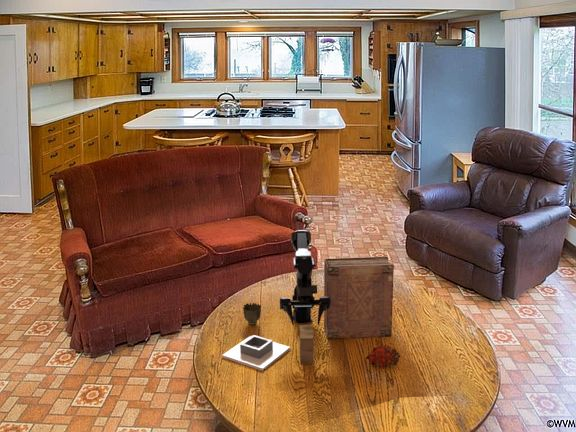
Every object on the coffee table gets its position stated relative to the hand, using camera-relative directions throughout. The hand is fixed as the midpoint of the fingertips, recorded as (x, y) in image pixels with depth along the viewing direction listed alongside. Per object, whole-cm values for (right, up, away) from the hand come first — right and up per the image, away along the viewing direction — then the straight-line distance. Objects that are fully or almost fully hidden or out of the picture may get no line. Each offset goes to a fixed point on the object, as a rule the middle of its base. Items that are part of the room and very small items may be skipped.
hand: (305, 325), depth 214 cm
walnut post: (0, -13, -2) cm, 13 cm away
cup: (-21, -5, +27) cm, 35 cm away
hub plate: (-18, -11, +4) cm, 22 cm away
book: (+21, -7, +19) cm, 29 cm away
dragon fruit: (+27, -14, -6) cm, 31 cm away
